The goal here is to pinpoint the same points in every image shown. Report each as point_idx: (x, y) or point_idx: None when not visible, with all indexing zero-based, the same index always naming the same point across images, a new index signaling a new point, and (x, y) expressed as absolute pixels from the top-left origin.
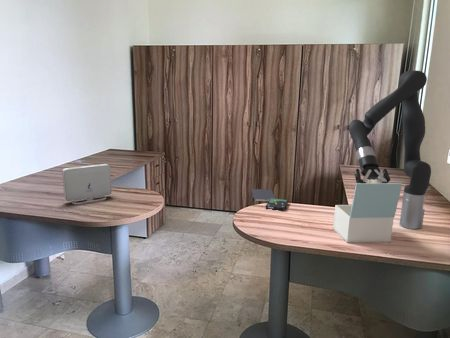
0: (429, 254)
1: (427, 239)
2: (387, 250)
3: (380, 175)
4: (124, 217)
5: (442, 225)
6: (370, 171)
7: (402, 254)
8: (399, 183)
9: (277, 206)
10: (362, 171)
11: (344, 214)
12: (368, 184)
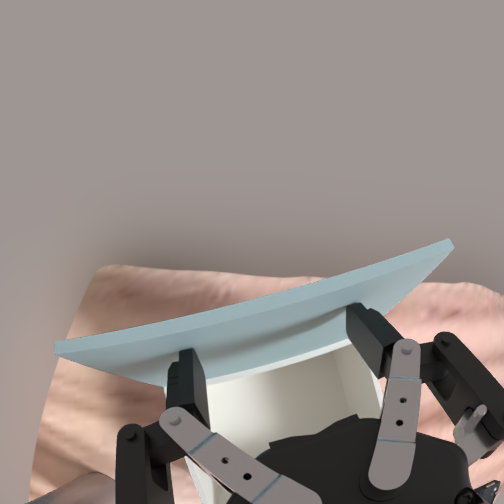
0: (110, 309)
1: (81, 407)
2: None
3: (225, 456)
4: None
5: (35, 483)
6: (381, 459)
7: (180, 296)
8: (71, 344)
9: (480, 495)
10: (456, 446)
11: (376, 379)
12: (370, 266)
